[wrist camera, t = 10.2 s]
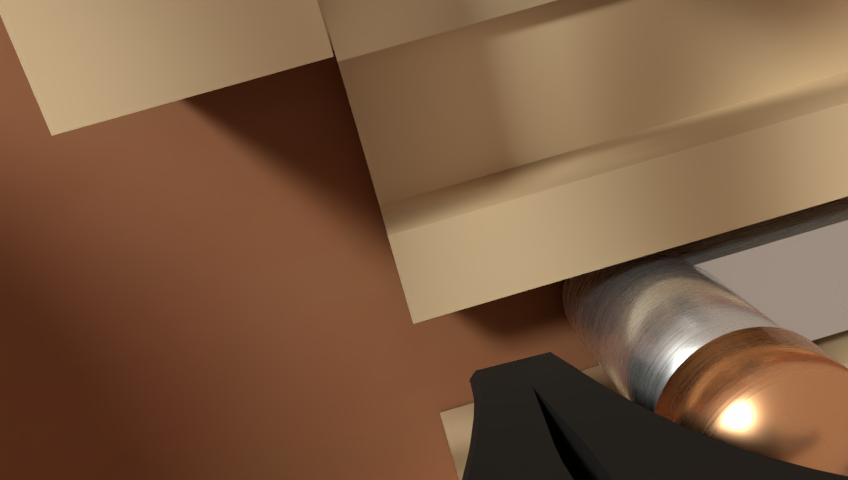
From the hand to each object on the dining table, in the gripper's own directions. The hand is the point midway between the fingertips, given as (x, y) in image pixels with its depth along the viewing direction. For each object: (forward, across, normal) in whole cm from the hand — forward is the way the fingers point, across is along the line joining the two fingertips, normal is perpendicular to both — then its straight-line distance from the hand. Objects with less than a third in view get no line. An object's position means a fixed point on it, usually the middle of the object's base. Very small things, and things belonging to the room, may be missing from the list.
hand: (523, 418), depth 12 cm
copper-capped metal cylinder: (+3, -5, 0) cm, 6 cm away
